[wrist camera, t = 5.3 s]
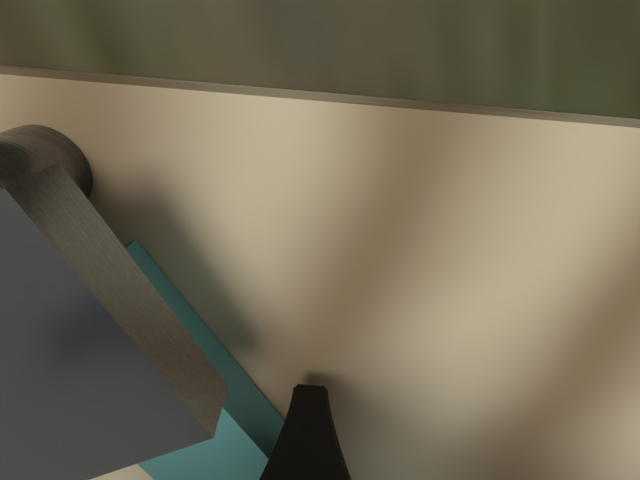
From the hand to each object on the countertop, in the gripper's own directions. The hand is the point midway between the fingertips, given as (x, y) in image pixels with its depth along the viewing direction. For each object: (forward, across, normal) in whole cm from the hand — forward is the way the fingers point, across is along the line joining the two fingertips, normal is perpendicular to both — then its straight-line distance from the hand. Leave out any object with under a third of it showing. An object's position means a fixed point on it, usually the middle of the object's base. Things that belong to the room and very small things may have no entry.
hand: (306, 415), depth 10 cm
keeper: (+2, +6, -3) cm, 7 cm away
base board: (+2, 0, 0) cm, 2 cm away
